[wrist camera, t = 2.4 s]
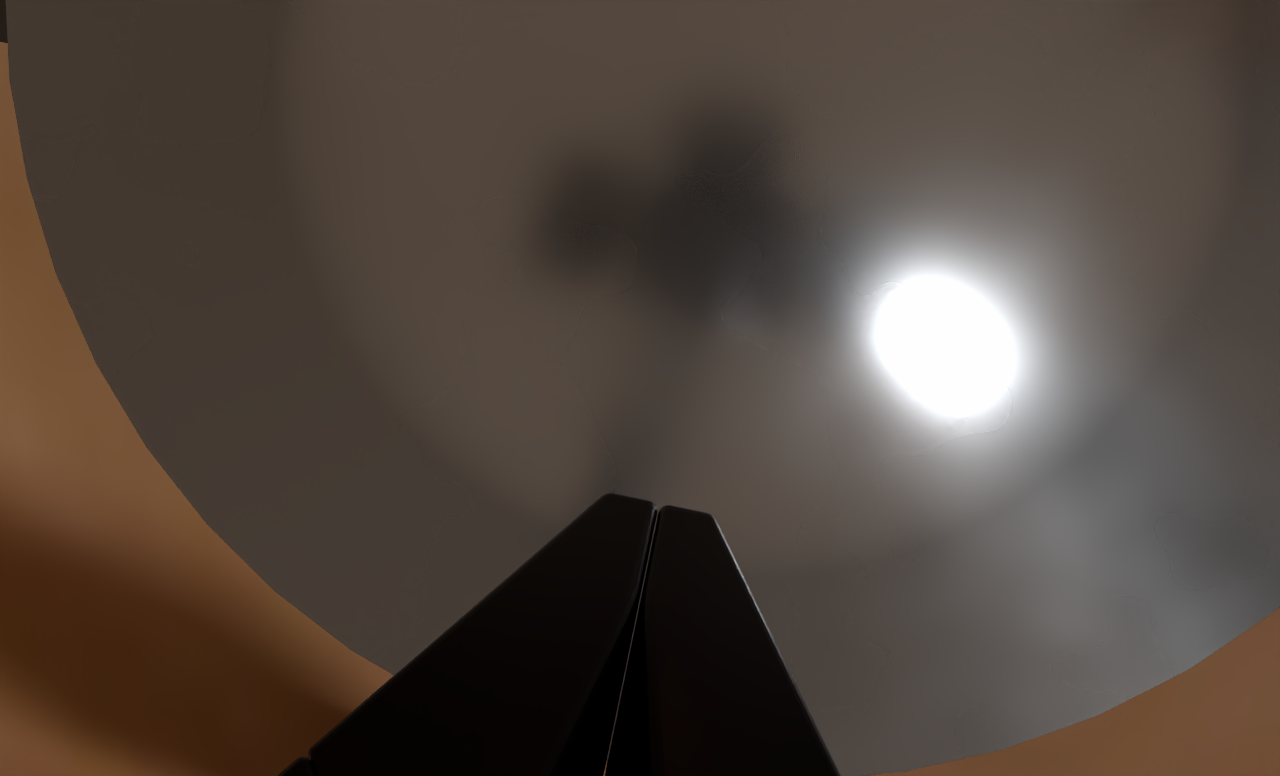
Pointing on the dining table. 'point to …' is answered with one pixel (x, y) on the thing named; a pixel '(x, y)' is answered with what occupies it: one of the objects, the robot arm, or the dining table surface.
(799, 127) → the lid
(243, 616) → the dining table surface
